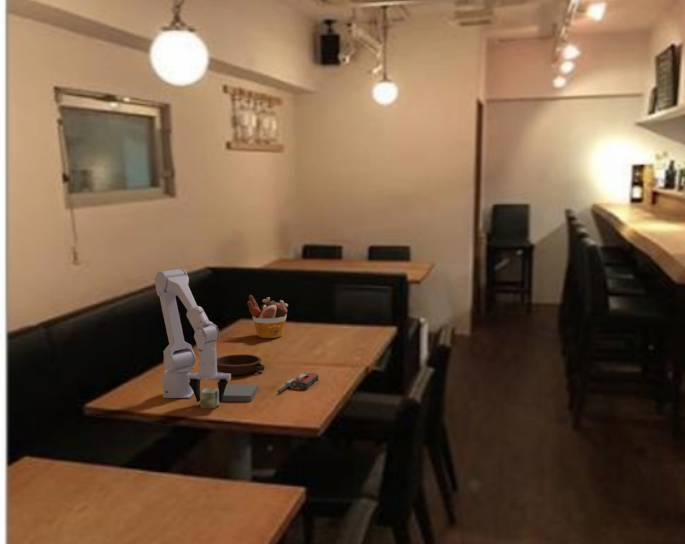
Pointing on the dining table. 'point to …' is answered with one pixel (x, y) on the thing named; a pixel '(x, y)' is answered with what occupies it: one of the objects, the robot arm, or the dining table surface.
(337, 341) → the dining table surface
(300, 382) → the walkie-talkie
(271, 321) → the bucket of meat
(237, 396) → the stand
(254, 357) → the dish
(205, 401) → the cube
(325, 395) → the dining table surface
